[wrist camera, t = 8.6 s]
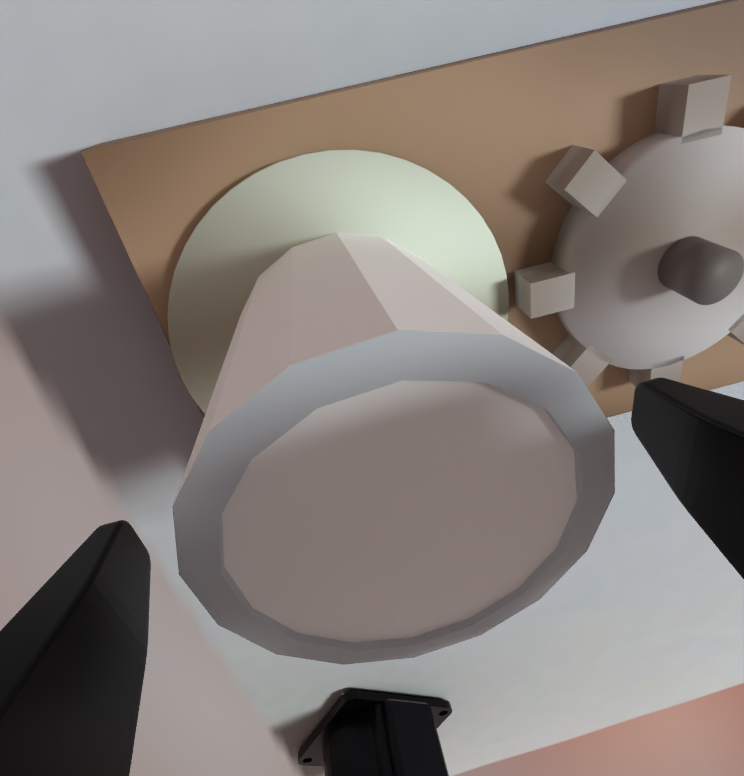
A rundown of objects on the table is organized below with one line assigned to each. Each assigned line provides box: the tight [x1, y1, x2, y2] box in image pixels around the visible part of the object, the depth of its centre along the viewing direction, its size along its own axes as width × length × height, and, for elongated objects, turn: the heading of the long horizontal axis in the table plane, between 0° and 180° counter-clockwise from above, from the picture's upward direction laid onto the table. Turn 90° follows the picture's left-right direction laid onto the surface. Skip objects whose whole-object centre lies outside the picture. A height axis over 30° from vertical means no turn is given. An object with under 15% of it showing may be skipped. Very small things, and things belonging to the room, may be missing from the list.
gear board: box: [81, 0, 744, 418], centre depth 14 cm, size 11×18×4 cm, turn 101°
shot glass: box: [173, 233, 615, 664], centre depth 11 cm, size 7×7×7 cm
